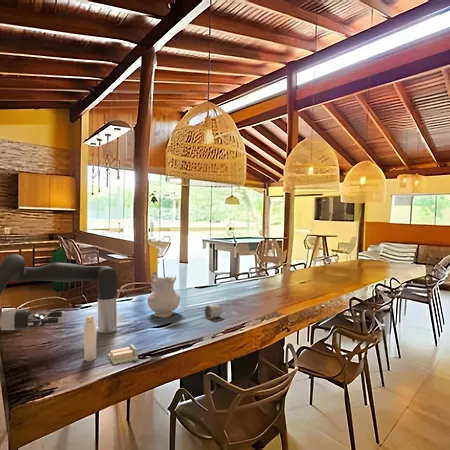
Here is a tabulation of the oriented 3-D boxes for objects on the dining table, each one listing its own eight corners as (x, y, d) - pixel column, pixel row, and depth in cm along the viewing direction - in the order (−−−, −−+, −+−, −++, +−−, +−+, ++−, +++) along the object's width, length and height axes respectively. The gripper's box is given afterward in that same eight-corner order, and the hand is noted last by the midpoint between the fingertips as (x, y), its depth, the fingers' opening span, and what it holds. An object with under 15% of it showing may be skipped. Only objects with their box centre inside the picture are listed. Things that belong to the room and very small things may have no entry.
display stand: (108, 356, 151) (107, 346, 151) (131, 351, 156) (131, 342, 156) (113, 364, 142) (113, 355, 142) (137, 359, 147) (137, 350, 147)
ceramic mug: (223, 317, 205) (222, 304, 205) (212, 320, 200) (211, 307, 200) (211, 313, 213) (211, 301, 213) (200, 316, 208) (200, 303, 208)
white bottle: (83, 357, 149) (82, 316, 148) (95, 355, 151) (94, 314, 151) (85, 362, 145) (84, 319, 144) (97, 359, 147) (96, 317, 146)
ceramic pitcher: (138, 317, 209) (135, 276, 206) (158, 306, 226) (156, 268, 223) (167, 322, 199) (165, 280, 196) (186, 311, 216) (185, 271, 213)
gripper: (21, 323, 147) (63, 320, 151) (10, 335, 133) (56, 331, 137) (20, 305, 146) (63, 303, 151) (9, 315, 133) (56, 312, 137)
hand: (60, 317), depth 144 cm, fingers open, 8 cm apart
